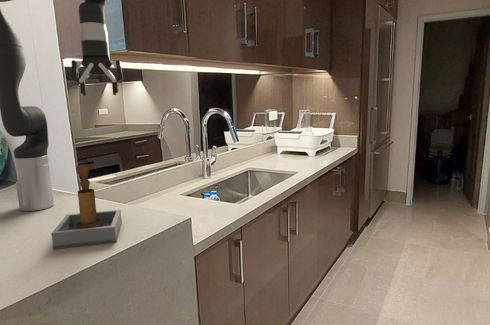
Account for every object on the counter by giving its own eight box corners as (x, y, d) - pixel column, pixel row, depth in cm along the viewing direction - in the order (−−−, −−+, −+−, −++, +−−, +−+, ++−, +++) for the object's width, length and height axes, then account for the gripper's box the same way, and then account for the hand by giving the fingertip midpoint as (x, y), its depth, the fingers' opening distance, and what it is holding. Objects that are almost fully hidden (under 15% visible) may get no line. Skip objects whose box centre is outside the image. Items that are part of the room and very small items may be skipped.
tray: (53, 249, 81) (51, 233, 80) (68, 228, 95) (66, 214, 94) (116, 242, 84) (114, 226, 84) (121, 222, 98) (120, 209, 97)
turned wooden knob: (93, 237, 86) (85, 166, 82) (70, 236, 87) (62, 166, 84) (108, 227, 92) (102, 161, 89) (87, 226, 93) (80, 161, 90)
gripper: (120, 43, 109) (125, 95, 112) (71, 42, 105) (77, 96, 108) (118, 38, 101) (123, 94, 104) (65, 38, 98) (72, 95, 101)
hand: (100, 95), depth 106 cm, fingers open, 8 cm apart
